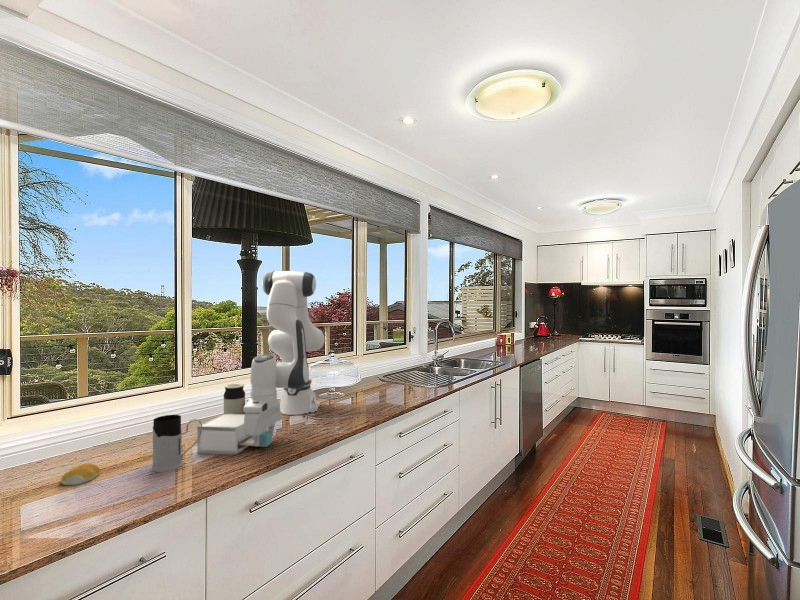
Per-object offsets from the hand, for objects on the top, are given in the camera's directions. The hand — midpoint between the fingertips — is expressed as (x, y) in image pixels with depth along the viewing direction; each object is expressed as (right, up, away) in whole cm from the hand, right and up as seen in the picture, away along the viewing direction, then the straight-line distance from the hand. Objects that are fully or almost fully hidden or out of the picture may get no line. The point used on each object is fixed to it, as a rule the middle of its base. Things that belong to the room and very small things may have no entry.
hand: (263, 441), depth 143 cm
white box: (-13, -2, +2) cm, 13 cm away
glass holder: (-22, -2, -15) cm, 27 cm away
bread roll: (-45, -3, -25) cm, 51 cm away
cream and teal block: (-8, -1, +1) cm, 8 cm away
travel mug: (-18, -3, +20) cm, 27 cm away
